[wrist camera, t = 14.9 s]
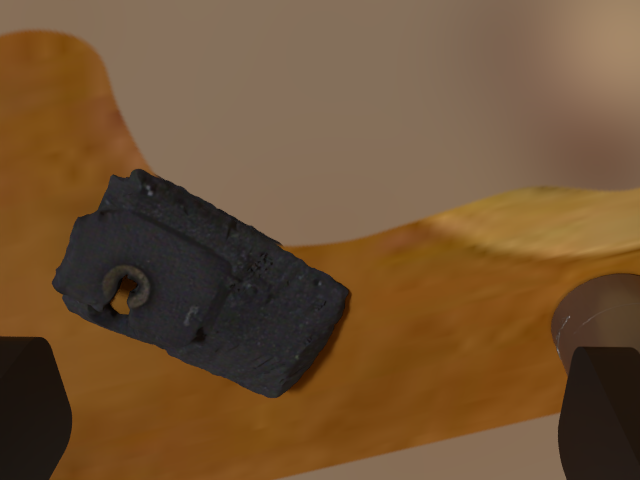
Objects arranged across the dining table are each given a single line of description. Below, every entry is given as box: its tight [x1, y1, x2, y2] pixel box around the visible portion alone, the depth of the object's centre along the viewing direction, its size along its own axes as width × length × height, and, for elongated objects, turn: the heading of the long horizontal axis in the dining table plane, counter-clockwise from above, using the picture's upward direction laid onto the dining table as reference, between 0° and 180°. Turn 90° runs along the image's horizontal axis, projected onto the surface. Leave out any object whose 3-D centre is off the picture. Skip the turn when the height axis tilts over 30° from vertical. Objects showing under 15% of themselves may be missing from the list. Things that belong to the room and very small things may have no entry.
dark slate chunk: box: [52, 169, 349, 398], centre depth 49 cm, size 15×22×5 cm
